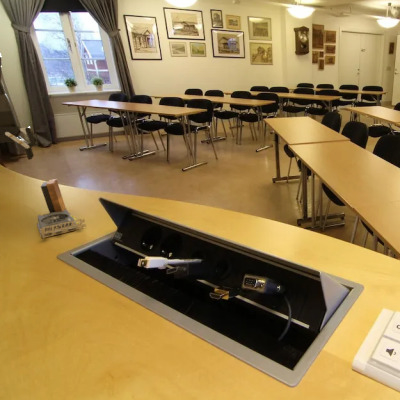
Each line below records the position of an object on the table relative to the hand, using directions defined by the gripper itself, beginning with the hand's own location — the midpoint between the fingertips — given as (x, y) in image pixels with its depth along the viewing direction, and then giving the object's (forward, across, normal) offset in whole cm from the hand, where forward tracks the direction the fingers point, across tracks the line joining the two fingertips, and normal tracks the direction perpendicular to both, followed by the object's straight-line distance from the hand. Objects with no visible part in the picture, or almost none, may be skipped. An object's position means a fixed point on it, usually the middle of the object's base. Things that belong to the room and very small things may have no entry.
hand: (13, 160), depth 105 cm
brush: (+23, -7, -5) cm, 24 cm away
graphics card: (+23, -8, +7) cm, 25 cm away
